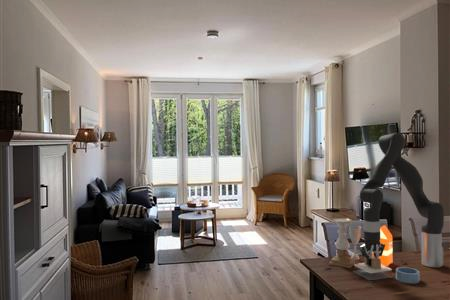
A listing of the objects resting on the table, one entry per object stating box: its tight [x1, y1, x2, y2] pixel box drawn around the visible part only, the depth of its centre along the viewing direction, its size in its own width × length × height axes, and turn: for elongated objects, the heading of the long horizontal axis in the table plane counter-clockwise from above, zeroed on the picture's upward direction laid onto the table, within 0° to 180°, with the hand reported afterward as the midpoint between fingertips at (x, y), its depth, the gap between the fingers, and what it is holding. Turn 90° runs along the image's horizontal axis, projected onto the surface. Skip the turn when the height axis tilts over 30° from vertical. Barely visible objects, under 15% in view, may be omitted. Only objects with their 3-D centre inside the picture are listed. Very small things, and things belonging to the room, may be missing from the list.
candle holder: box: [329, 217, 357, 269], centre depth 192 cm, size 11×11×24 cm
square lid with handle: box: [353, 254, 393, 273], centre depth 176 cm, size 12×12×5 cm
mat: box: [352, 269, 393, 281], centre depth 176 cm, size 13×13×1 cm
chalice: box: [348, 224, 362, 261], centre depth 202 cm, size 7×7×18 cm
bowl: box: [395, 266, 421, 285], centre depth 169 cm, size 10×10×5 cm
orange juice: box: [372, 224, 394, 267], centre depth 194 cm, size 8×9×20 cm
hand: (372, 265), depth 176 cm, fingers closed on square lid with handle, 3 cm apart
